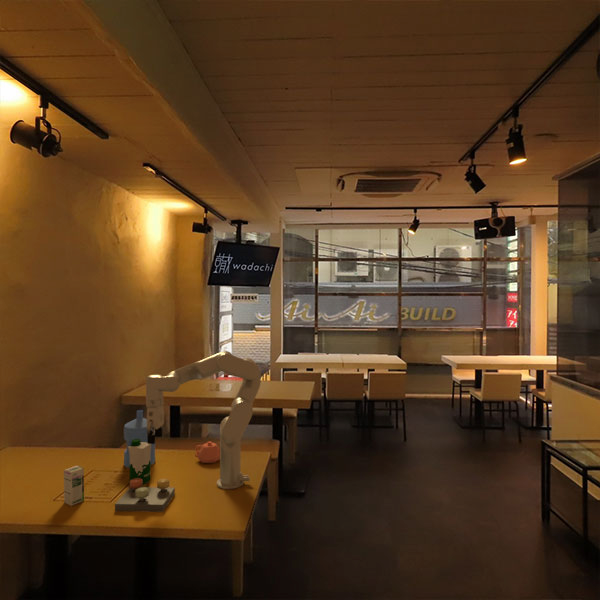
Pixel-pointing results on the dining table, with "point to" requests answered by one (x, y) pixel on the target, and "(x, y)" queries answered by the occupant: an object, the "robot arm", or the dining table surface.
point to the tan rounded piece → (163, 484)
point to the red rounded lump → (136, 483)
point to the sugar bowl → (208, 452)
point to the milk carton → (140, 460)
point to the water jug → (137, 436)
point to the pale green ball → (142, 493)
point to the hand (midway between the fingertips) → (155, 440)
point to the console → (145, 500)
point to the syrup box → (73, 485)
